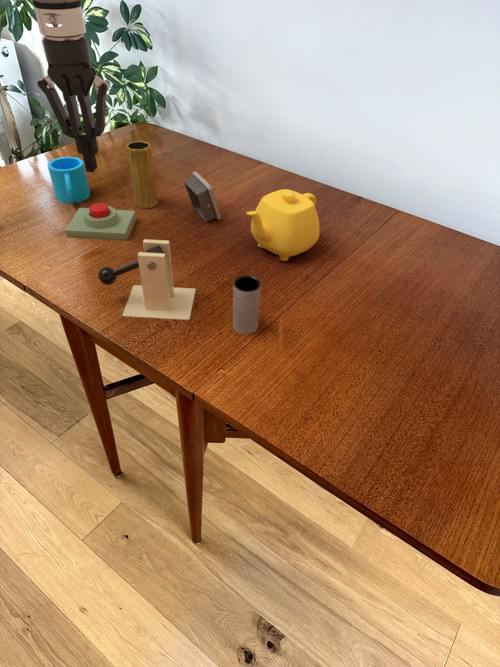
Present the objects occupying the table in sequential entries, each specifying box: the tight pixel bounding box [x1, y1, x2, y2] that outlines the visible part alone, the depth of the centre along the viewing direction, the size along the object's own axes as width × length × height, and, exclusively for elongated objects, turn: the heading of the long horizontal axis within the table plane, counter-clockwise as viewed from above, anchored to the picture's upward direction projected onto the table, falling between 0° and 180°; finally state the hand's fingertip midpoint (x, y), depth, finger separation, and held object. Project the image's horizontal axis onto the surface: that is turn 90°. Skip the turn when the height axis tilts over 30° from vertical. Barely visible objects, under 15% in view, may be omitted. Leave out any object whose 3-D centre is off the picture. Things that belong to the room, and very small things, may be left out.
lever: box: [97, 245, 166, 286], centre depth 80 cm, size 13×3×3 cm, turn 87°
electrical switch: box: [183, 170, 222, 223], centre depth 109 cm, size 9×5×9 cm, turn 29°
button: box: [88, 202, 109, 218], centre depth 102 cm, size 4×4×2 cm
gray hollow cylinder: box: [232, 274, 262, 335], centre depth 79 cm, size 4×4×10 cm
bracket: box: [121, 238, 197, 321], centre depth 82 cm, size 12×9×13 cm
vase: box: [126, 140, 159, 210], centre depth 110 cm, size 6×6×14 cm
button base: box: [64, 205, 137, 242], centre depth 104 cm, size 13×10×4 cm
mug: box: [47, 156, 91, 204], centre depth 112 cm, size 12×8×8 cm
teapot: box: [245, 188, 320, 262], centre depth 98 cm, size 14×20×13 cm
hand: (91, 169), depth 96 cm, fingers closed
